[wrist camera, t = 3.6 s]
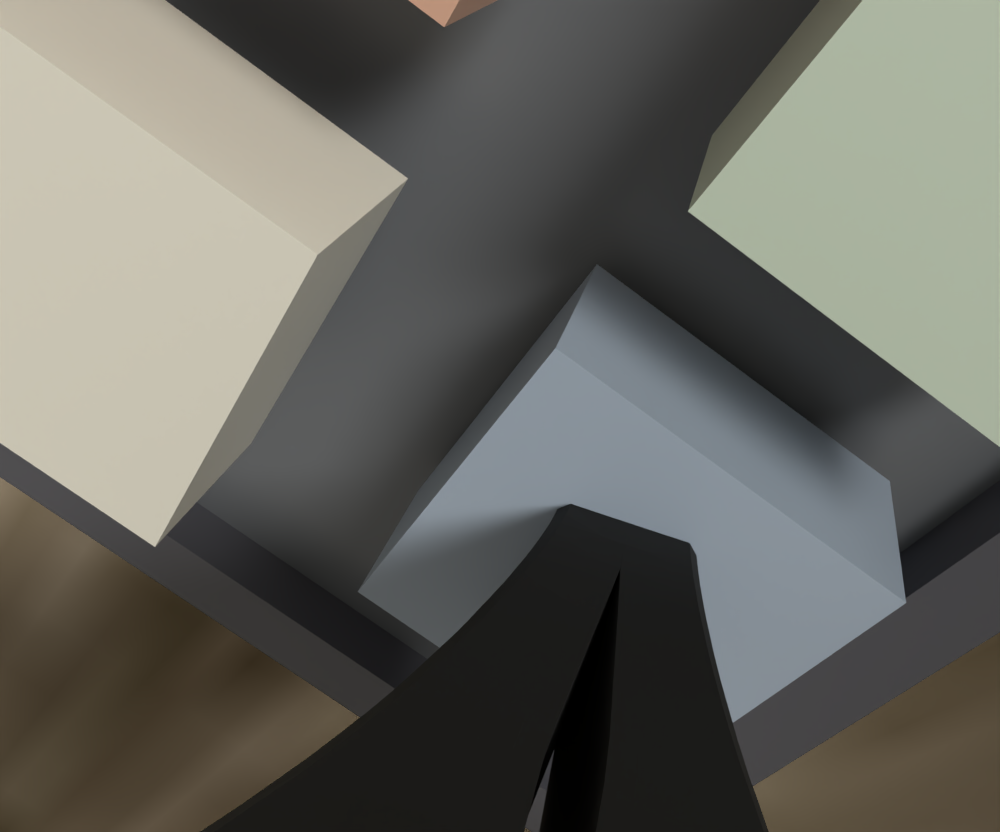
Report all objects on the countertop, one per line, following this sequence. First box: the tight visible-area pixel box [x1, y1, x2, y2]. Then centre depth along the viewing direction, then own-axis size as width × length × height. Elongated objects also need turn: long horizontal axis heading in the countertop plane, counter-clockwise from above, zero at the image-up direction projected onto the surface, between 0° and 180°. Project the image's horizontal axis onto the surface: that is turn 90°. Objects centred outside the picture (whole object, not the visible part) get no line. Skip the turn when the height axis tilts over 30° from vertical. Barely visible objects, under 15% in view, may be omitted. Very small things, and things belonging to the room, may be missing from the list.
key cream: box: [0, 0, 408, 547], centre depth 9 cm, size 4×4×2 cm
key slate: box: [358, 265, 906, 722], centre depth 10 cm, size 4×4×2 cm
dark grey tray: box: [0, 0, 1000, 832], centre depth 10 cm, size 14×18×2 cm
